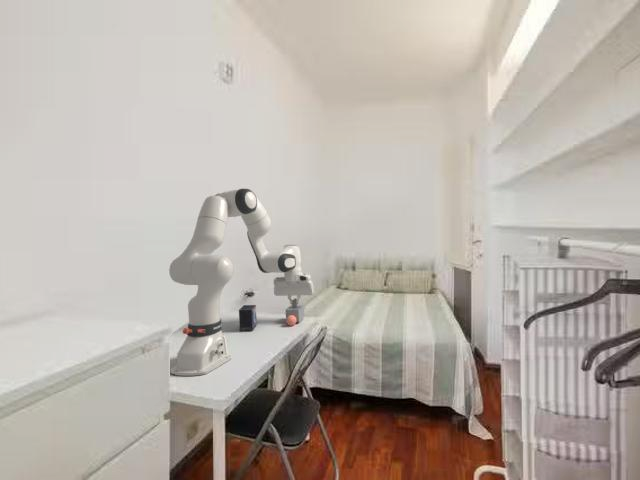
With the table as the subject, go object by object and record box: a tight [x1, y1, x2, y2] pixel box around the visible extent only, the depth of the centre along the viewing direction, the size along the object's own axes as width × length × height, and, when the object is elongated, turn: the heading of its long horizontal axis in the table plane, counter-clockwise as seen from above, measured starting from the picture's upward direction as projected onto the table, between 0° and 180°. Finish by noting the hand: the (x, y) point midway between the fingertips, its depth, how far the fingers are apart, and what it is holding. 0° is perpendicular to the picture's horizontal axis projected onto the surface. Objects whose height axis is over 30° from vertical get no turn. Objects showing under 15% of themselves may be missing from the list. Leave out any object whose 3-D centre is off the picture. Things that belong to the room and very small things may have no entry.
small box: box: [238, 304, 258, 332], centre depth 176 cm, size 11×6×10 cm, turn 179°
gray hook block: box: [285, 297, 305, 323], centre depth 185 cm, size 11×7×10 cm, turn 169°
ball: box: [285, 315, 297, 327], centre depth 177 cm, size 5×5×5 cm
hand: (294, 304), depth 185 cm, fingers closed on gray hook block
